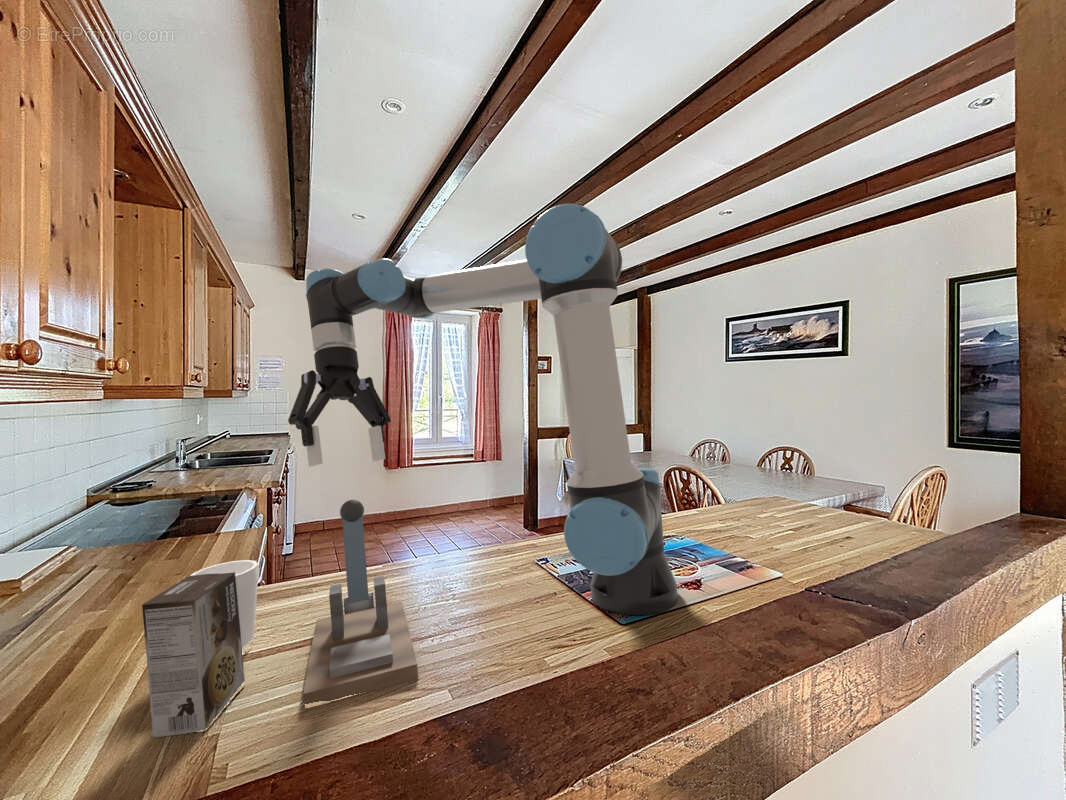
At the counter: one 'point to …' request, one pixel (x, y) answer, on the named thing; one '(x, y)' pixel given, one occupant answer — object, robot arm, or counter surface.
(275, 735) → the counter surface
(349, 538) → the lever
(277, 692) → the counter surface
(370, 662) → the press base
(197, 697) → the coffee box
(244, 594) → the foam cup
